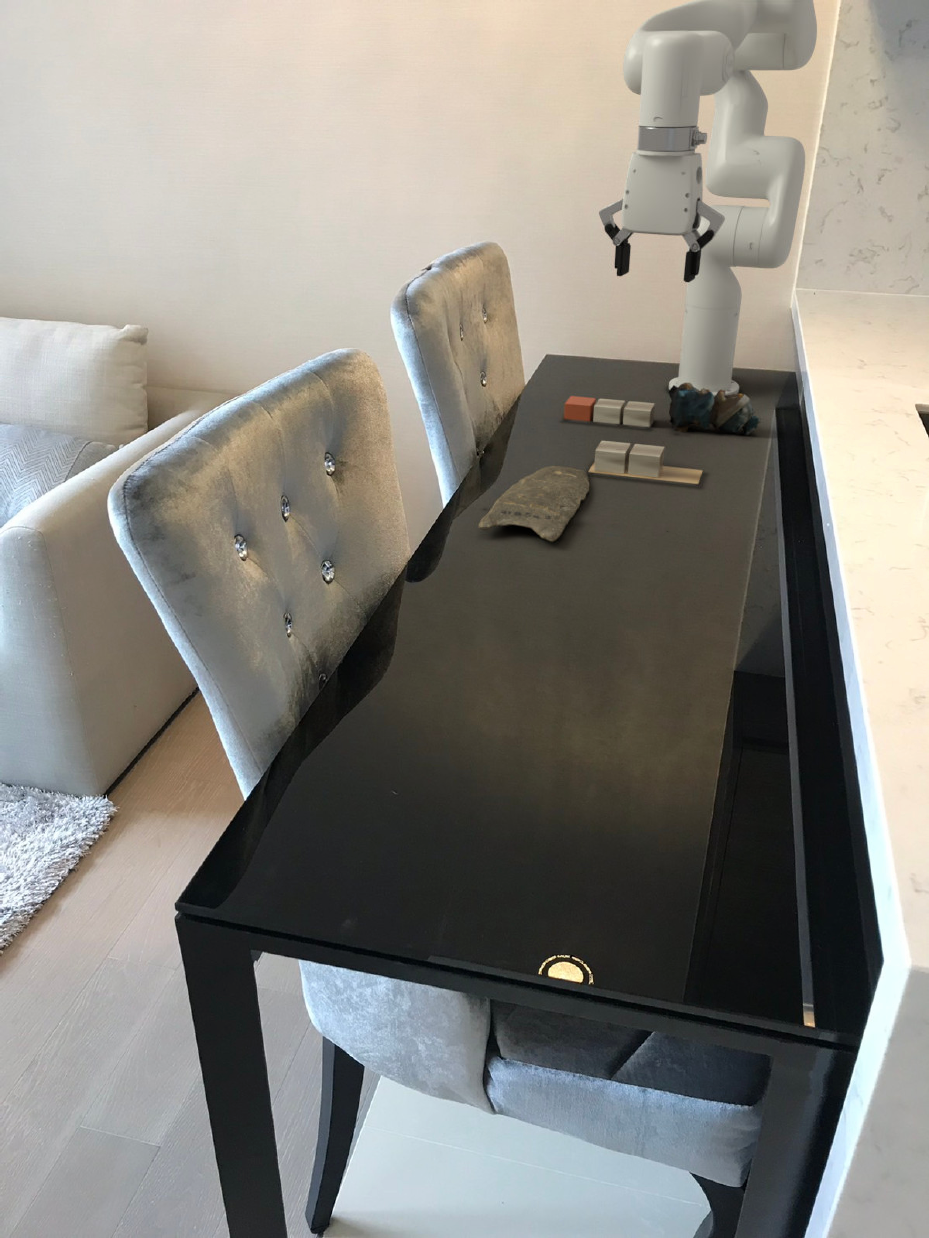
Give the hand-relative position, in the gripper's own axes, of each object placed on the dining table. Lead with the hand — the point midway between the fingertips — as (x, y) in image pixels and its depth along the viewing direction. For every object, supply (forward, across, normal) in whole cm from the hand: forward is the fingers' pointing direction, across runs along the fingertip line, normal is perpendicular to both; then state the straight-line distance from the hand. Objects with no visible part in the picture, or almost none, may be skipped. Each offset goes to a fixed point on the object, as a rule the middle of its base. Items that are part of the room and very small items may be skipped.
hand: (655, 277), depth 139 cm
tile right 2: (+26, -2, +5) cm, 27 cm away
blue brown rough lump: (+27, -6, -18) cm, 33 cm away
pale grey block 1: (+26, +2, +6) cm, 27 cm away
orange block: (+27, +16, -14) cm, 34 cm away
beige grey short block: (+27, +11, -15) cm, 33 cm away
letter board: (+27, -2, +5) cm, 27 cm away
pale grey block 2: (+27, +6, -16) cm, 32 cm away
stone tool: (+27, +6, +23) cm, 36 cm away
